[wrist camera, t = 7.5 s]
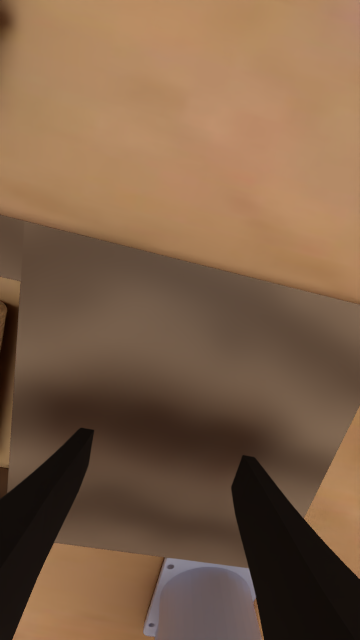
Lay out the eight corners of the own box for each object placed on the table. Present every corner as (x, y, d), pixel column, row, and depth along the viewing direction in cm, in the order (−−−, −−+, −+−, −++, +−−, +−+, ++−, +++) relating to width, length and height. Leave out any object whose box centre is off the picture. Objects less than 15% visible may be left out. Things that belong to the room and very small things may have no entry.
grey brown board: (264, 535, 16) (277, 572, 14) (-140, 476, 14) (-191, 510, 12) (367, 308, 12) (404, 315, 10) (-182, 171, 10) (-270, 147, 8)
